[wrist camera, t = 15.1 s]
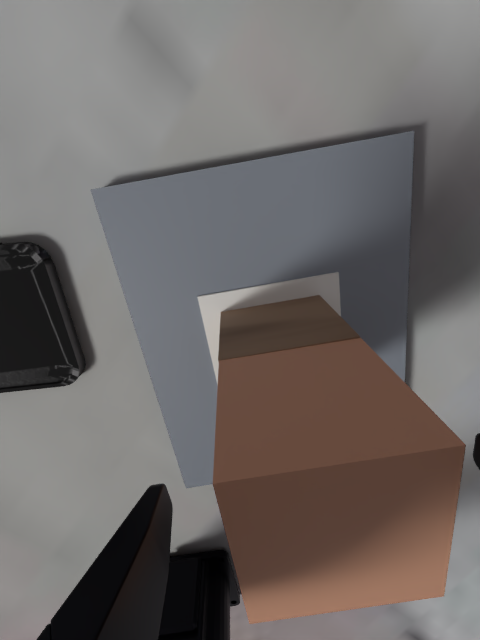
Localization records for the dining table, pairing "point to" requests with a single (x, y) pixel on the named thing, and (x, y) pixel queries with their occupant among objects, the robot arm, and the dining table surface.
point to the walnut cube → (280, 327)
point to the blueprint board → (258, 262)
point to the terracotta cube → (332, 482)
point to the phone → (34, 323)
